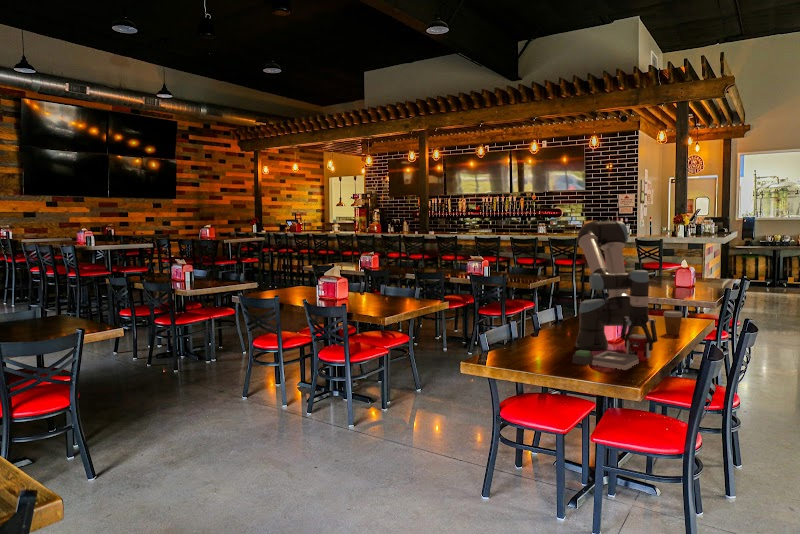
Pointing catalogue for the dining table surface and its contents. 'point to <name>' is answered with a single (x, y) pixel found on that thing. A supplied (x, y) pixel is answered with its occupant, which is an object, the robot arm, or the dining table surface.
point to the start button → (583, 353)
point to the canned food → (638, 346)
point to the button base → (582, 359)
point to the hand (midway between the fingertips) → (638, 356)
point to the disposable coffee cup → (672, 322)
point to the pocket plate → (615, 360)
